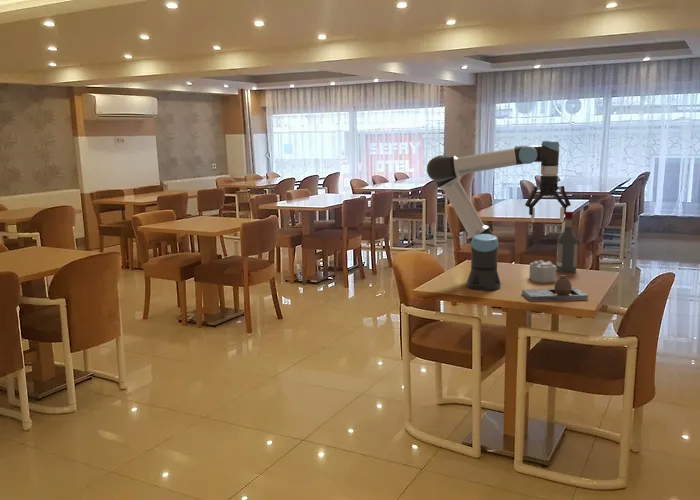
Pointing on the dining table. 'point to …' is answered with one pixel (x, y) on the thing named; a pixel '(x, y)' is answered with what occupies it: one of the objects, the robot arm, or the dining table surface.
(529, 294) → the grey slab with opening
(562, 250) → the liquor
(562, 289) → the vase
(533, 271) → the lumpy-topped squat cylinder
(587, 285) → the dining table surface
